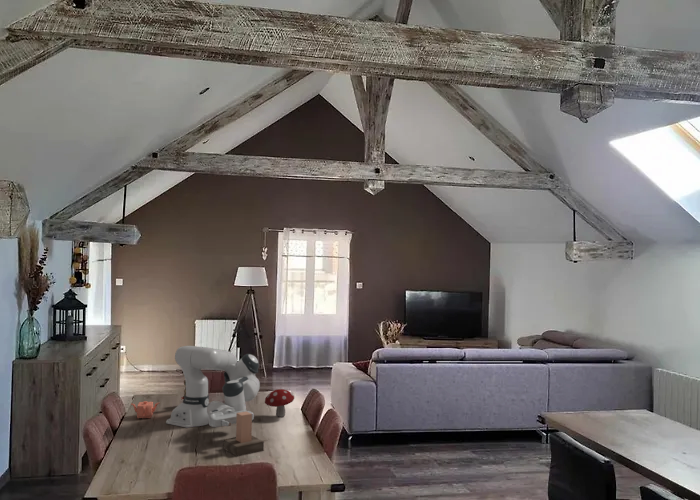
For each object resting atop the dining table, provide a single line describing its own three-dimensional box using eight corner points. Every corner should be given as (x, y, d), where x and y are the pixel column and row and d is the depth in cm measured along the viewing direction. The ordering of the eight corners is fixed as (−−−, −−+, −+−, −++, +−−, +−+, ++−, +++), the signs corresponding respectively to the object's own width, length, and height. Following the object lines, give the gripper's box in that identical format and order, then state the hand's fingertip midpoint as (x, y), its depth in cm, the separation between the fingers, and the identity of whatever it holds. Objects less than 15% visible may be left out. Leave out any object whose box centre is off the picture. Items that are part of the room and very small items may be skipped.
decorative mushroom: (296, 420, 315) (297, 391, 315) (266, 422, 310) (267, 393, 310) (291, 412, 330) (291, 384, 330) (262, 414, 325) (262, 386, 326)
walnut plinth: (223, 448, 268) (223, 439, 268) (249, 443, 276) (249, 434, 276) (236, 456, 257) (237, 447, 257) (263, 450, 265) (263, 441, 265)
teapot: (158, 419, 312) (159, 403, 312) (128, 421, 309) (128, 404, 309) (160, 413, 324) (161, 398, 324) (131, 414, 320) (131, 399, 320)
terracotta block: (236, 440, 267) (236, 413, 267) (246, 438, 270) (246, 411, 270) (241, 442, 263) (241, 415, 263) (251, 440, 266) (251, 413, 266)
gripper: (246, 418, 287) (259, 425, 276) (205, 426, 275) (218, 433, 264) (246, 405, 287) (259, 412, 276) (205, 412, 275) (218, 419, 264)
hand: (239, 422), depth 270 cm, fingers open, 8 cm apart
